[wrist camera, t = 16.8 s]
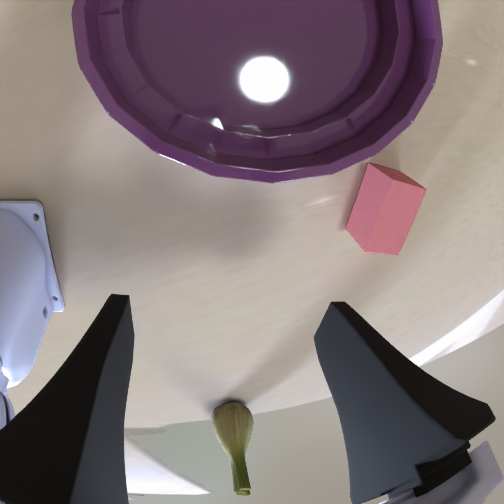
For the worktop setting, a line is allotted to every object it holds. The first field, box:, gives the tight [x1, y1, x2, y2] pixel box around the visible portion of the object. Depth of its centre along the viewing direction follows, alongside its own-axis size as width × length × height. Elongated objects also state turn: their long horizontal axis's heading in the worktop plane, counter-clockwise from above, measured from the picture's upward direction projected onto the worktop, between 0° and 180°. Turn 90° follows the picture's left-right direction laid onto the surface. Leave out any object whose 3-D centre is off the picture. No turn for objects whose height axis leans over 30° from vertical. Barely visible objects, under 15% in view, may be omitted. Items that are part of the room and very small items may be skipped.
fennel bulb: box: [212, 402, 253, 495], centre depth 27 cm, size 6×5×12 cm
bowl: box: [72, 0, 443, 183], centre depth 9 cm, size 17×17×4 cm
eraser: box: [346, 163, 426, 255], centre depth 18 cm, size 5×3×3 cm, turn 169°
